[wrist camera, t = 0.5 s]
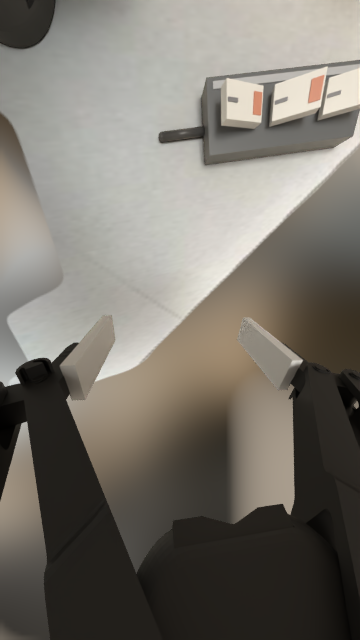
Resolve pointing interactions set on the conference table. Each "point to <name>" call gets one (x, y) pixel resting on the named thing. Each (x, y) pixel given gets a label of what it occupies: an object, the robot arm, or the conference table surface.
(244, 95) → the rocker
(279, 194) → the conference table surface
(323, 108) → the rocker
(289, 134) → the power strip
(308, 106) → the rocker
